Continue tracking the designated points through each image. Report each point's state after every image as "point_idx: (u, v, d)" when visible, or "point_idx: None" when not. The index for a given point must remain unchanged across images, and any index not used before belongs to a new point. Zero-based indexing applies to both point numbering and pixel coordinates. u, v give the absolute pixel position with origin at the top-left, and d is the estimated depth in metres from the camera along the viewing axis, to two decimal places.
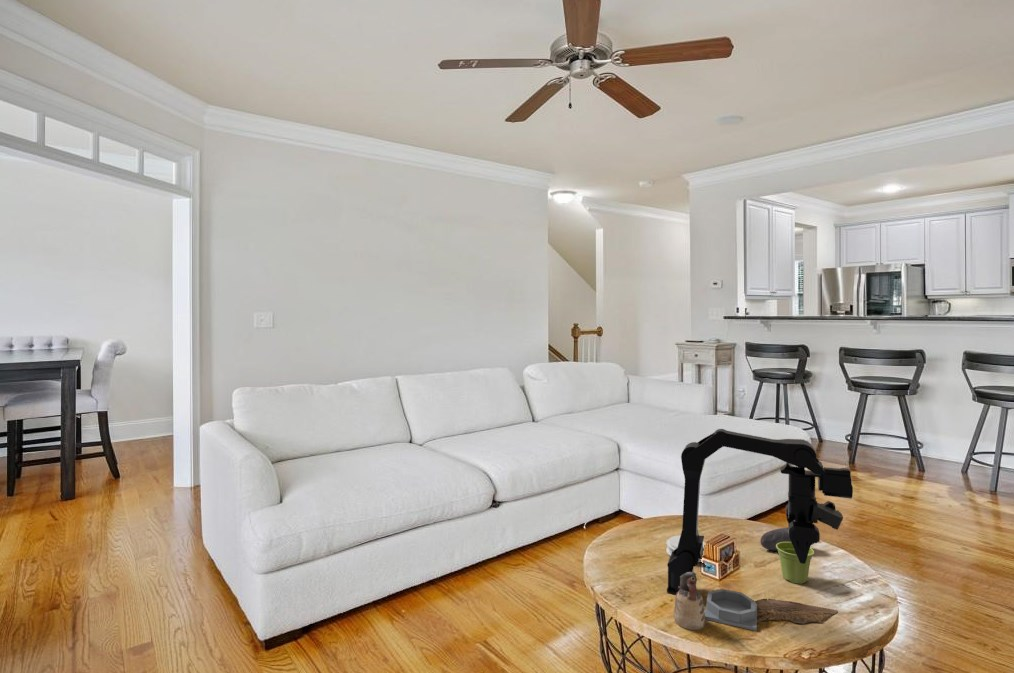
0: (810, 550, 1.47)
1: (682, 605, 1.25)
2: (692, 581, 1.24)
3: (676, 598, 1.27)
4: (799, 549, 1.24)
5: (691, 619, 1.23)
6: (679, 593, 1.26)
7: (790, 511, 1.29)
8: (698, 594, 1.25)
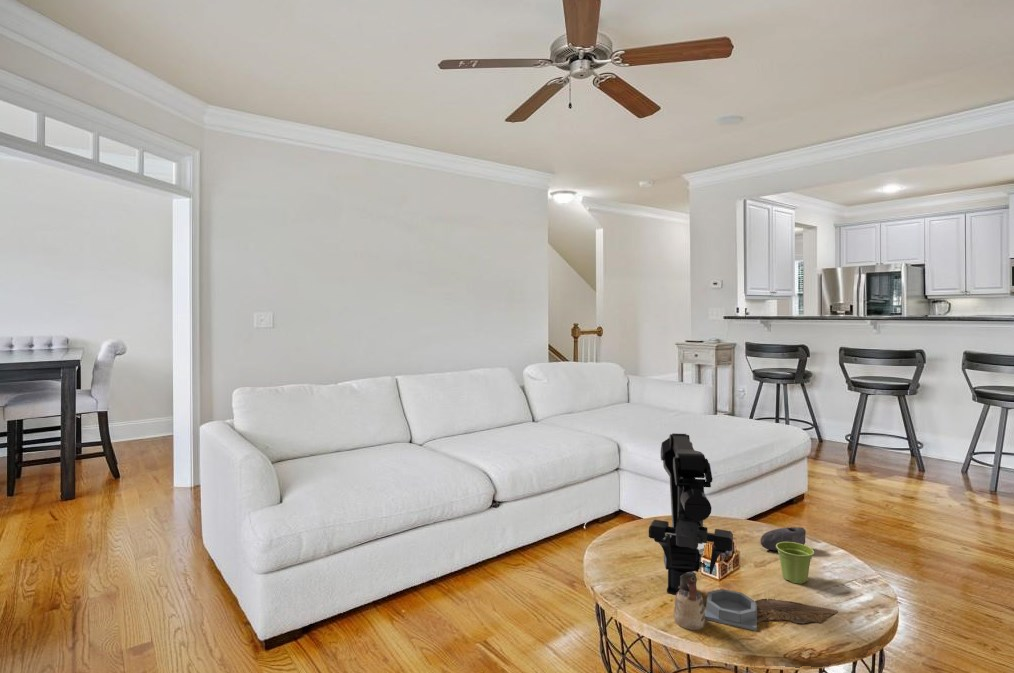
0: (810, 550, 1.47)
1: (682, 605, 1.25)
2: (692, 581, 1.24)
3: (676, 598, 1.27)
4: None
5: (691, 619, 1.23)
6: (679, 593, 1.26)
7: None
8: (698, 594, 1.25)
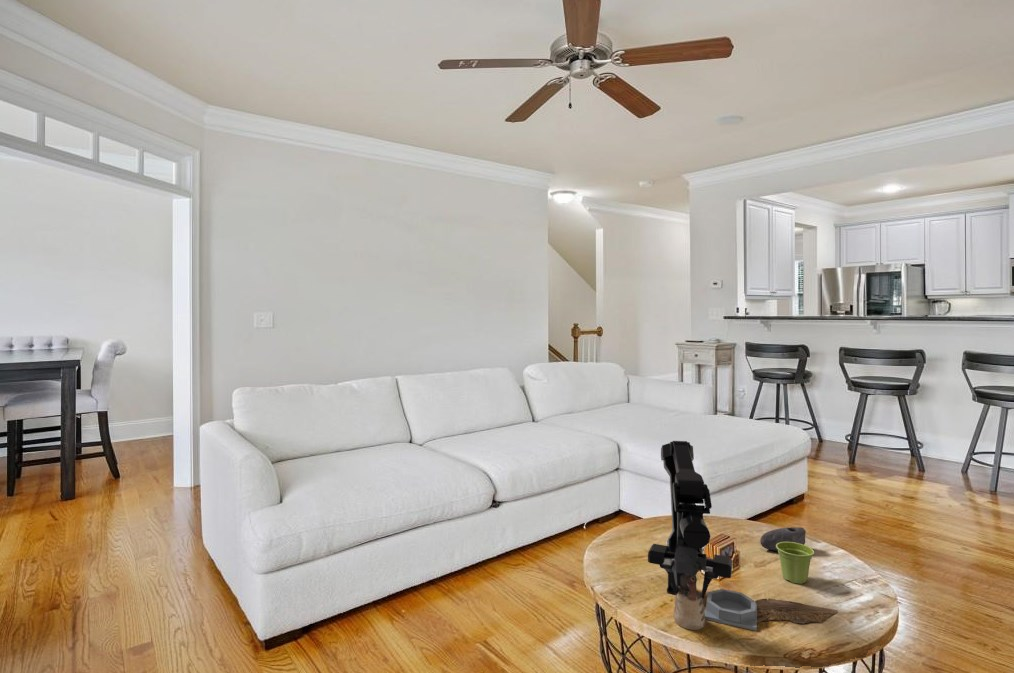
0: (810, 550, 1.47)
1: (682, 605, 1.25)
2: (692, 581, 1.24)
3: (676, 598, 1.27)
4: None
5: (691, 619, 1.23)
6: (679, 593, 1.26)
7: None
8: (698, 594, 1.25)
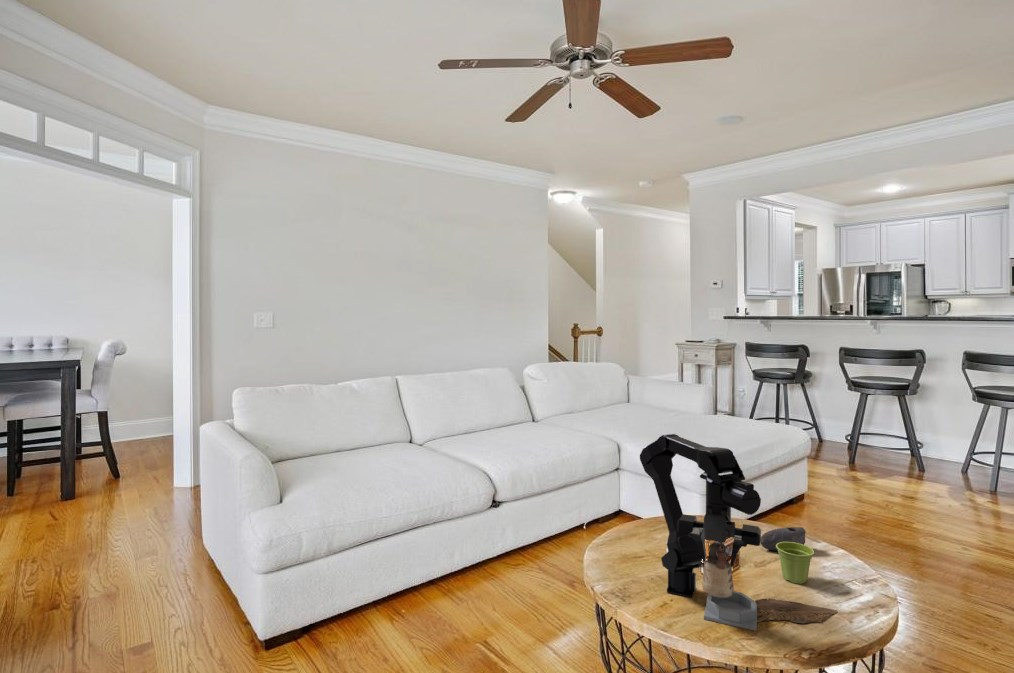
0: (810, 550, 1.47)
1: (710, 573, 1.27)
2: (721, 550, 1.26)
3: (705, 566, 1.29)
4: None
5: (720, 587, 1.26)
6: (707, 562, 1.29)
7: None
8: (727, 563, 1.28)
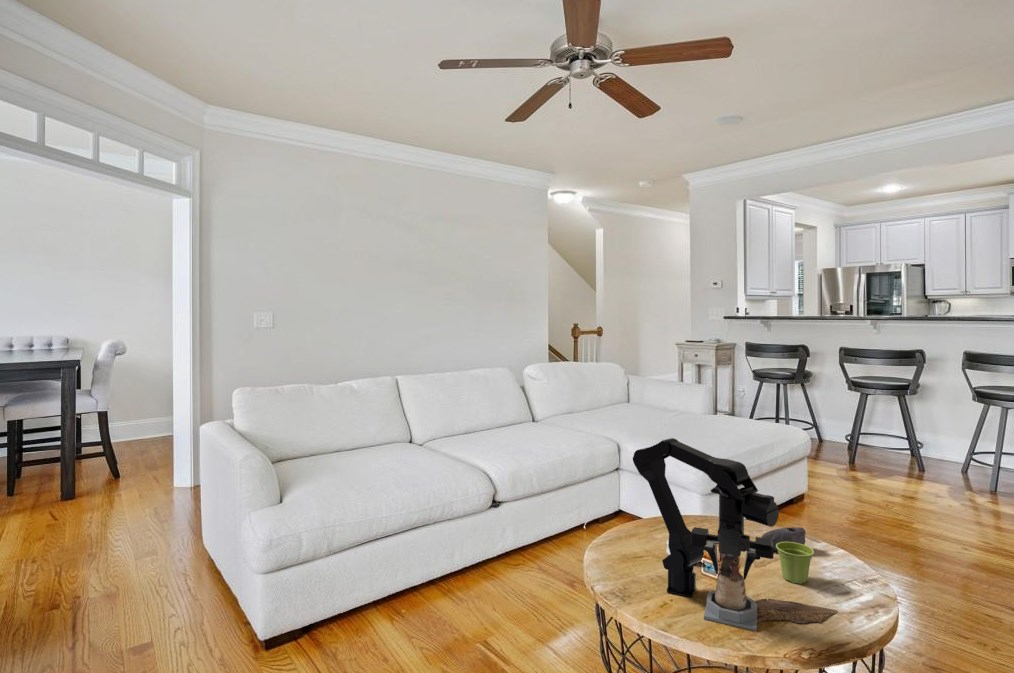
0: (810, 550, 1.47)
1: (724, 586, 1.28)
2: (735, 563, 1.28)
3: (718, 579, 1.30)
4: None
5: (734, 600, 1.27)
6: (720, 575, 1.30)
7: None
8: (740, 575, 1.29)
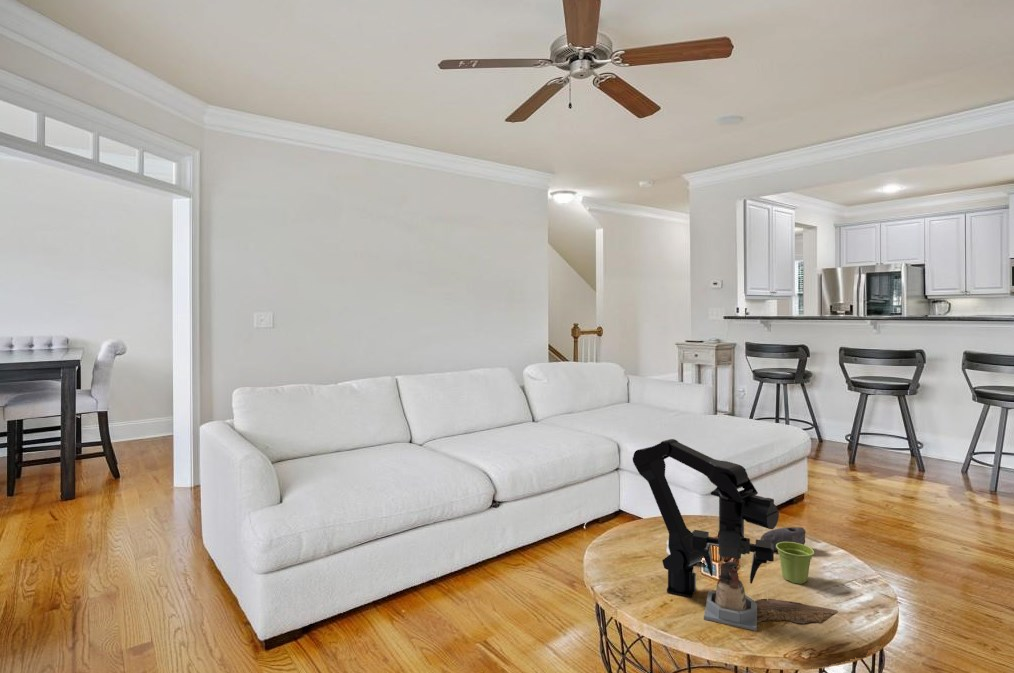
0: (810, 550, 1.47)
1: (724, 593, 1.28)
2: (734, 570, 1.28)
3: (718, 586, 1.30)
4: None
5: (734, 607, 1.27)
6: (720, 582, 1.30)
7: None
8: (739, 582, 1.29)
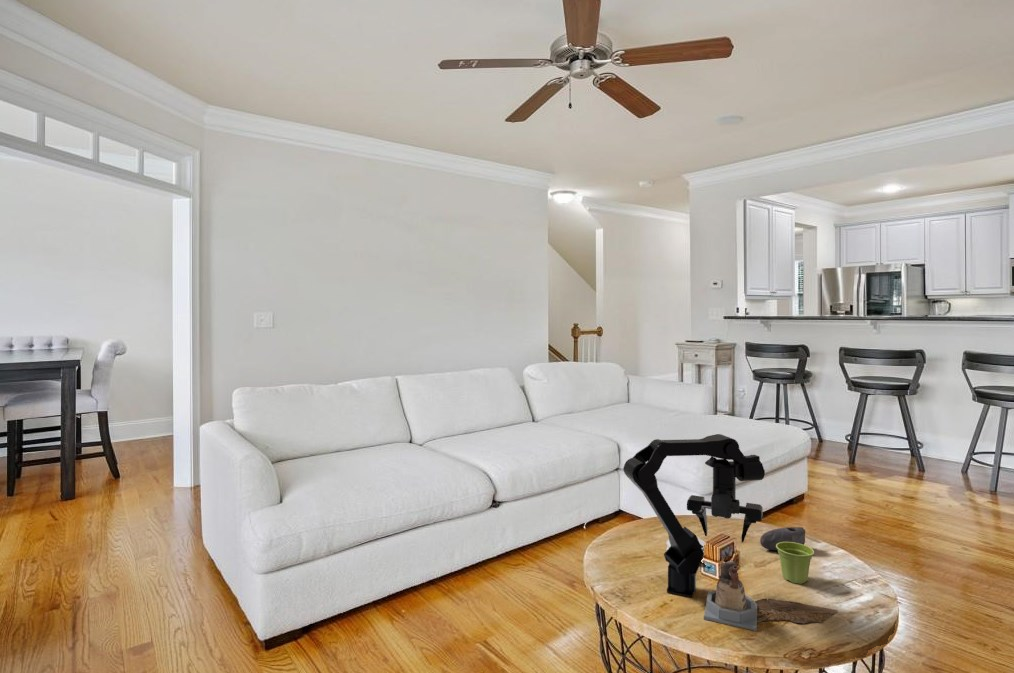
0: (810, 550, 1.47)
1: (724, 593, 1.28)
2: (734, 570, 1.28)
3: (718, 586, 1.30)
4: None
5: (734, 607, 1.27)
6: (720, 582, 1.30)
7: None
8: (739, 582, 1.29)
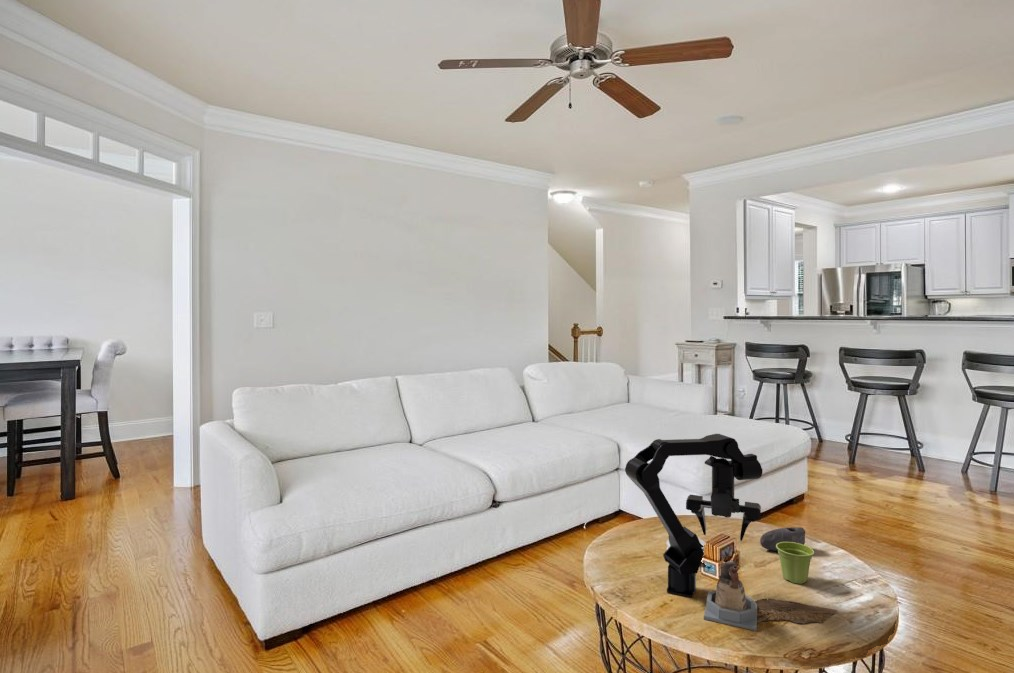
0: (810, 550, 1.47)
1: (724, 593, 1.28)
2: (734, 570, 1.28)
3: (718, 586, 1.30)
4: None
5: (734, 607, 1.27)
6: (720, 582, 1.30)
7: None
8: (739, 582, 1.29)
